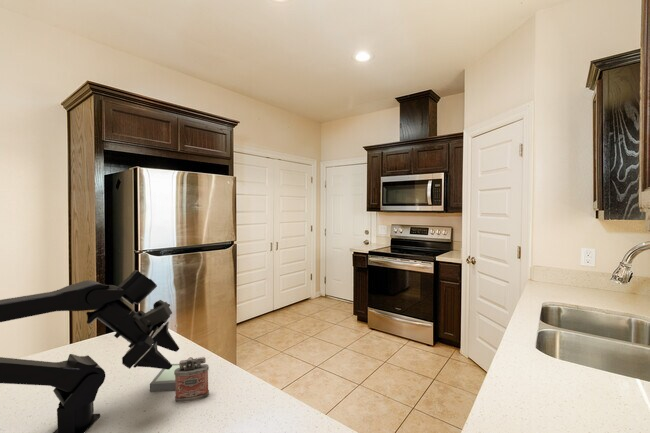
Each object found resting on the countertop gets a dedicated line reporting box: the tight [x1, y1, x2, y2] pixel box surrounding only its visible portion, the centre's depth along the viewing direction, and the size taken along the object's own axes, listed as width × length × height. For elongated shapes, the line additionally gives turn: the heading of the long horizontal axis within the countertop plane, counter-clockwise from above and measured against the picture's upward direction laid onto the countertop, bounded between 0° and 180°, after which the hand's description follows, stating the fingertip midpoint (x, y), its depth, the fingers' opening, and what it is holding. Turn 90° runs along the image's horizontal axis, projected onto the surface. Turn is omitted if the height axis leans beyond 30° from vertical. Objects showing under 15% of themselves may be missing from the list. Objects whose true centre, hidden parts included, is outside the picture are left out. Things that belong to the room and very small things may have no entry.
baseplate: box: [149, 363, 197, 392], centre depth 86 cm, size 10×10×2 cm
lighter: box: [174, 356, 210, 403], centre depth 78 cm, size 8×3×10 cm, turn 105°
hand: (174, 358), depth 77 cm, fingers open, 9 cm apart
